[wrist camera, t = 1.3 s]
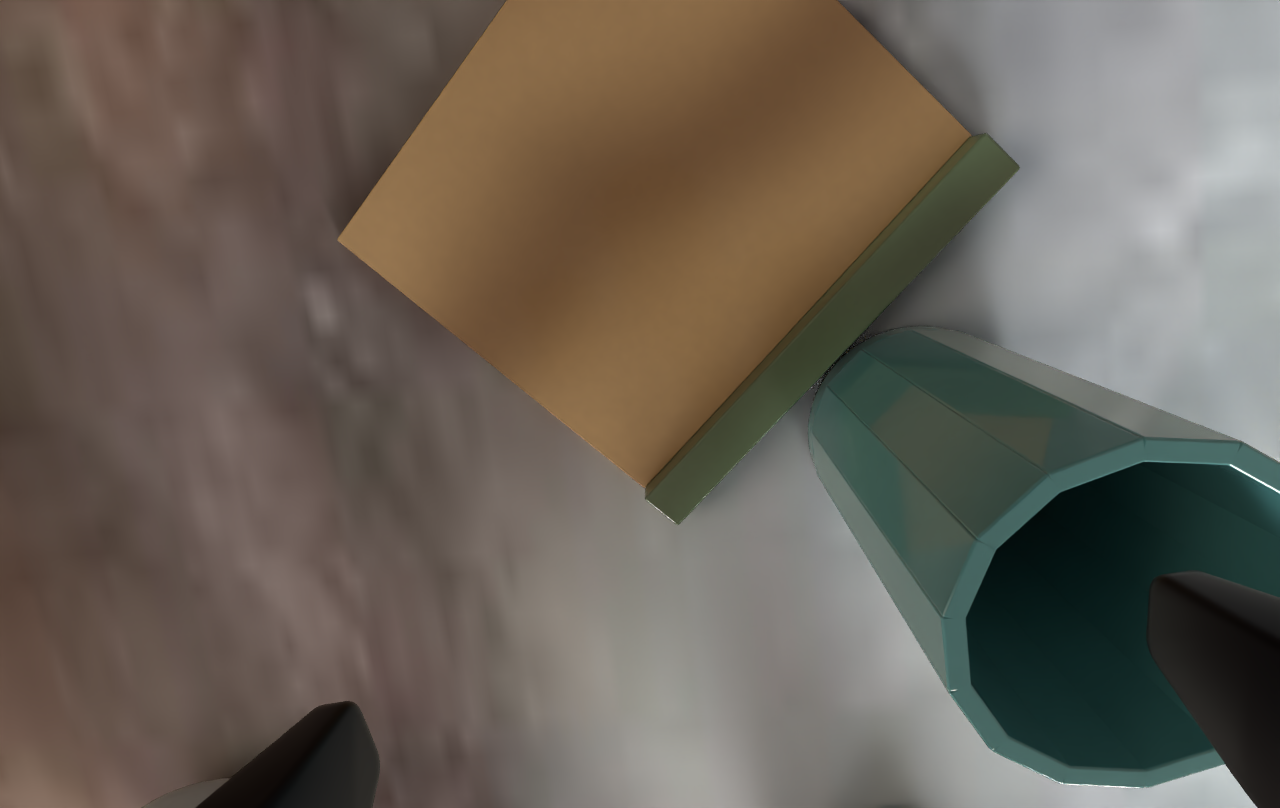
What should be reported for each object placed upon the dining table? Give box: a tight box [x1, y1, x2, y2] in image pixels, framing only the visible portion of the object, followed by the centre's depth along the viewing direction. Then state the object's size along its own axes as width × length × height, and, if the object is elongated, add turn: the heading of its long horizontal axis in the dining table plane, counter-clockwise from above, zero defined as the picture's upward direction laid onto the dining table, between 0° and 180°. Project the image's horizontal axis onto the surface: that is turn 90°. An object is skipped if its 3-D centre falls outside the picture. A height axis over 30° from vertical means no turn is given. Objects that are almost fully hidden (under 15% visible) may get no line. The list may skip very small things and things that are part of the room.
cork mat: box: [337, 0, 1020, 525], centre depth 20 cm, size 13×14×1 cm
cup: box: [808, 326, 1280, 788], centre depth 17 cm, size 6×6×11 cm
